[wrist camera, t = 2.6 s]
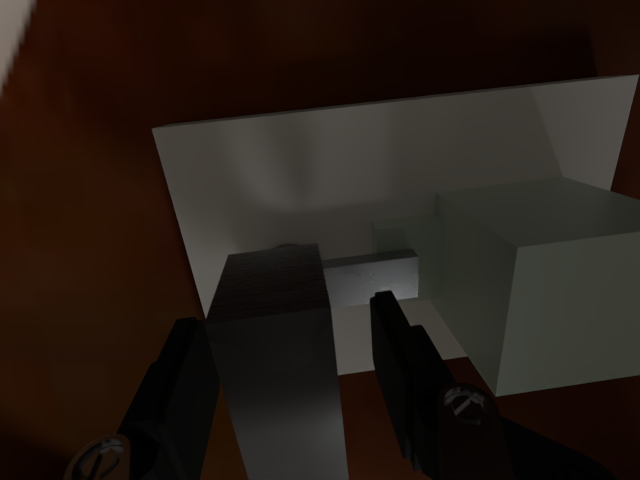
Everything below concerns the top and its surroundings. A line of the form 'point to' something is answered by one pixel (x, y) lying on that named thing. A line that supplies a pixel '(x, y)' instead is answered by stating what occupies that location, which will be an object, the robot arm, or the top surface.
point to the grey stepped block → (531, 279)
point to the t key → (292, 351)
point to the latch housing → (377, 175)
